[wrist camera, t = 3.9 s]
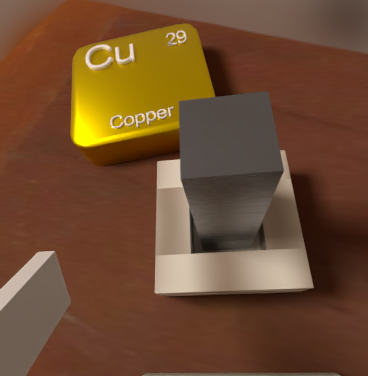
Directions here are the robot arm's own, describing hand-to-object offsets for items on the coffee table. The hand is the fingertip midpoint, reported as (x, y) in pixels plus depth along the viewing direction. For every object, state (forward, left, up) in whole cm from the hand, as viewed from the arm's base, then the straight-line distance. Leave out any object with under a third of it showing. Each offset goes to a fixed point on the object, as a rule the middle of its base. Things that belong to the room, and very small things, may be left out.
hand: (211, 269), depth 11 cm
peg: (-1, -5, -12) cm, 13 cm away
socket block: (-1, -5, -13) cm, 14 cm away
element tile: (+7, -21, -14) cm, 26 cm away
